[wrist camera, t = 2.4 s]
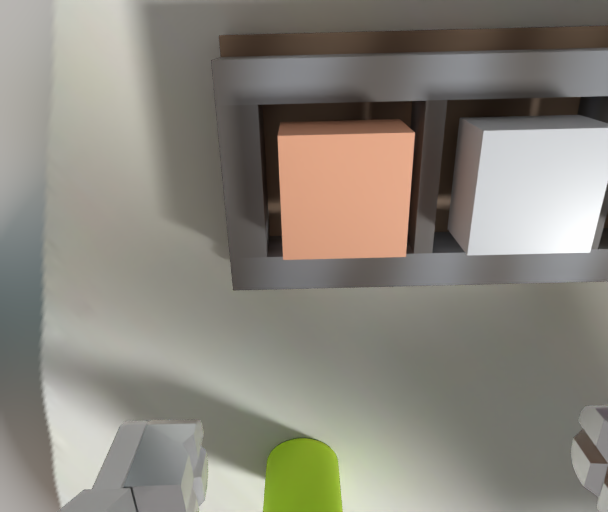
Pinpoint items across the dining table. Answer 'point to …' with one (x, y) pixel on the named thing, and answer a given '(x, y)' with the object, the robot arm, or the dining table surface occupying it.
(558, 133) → the grey key
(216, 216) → the dining table surface
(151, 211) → the dining table surface
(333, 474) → the soap dispenser
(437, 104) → the compartment tray
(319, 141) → the terracotta key
